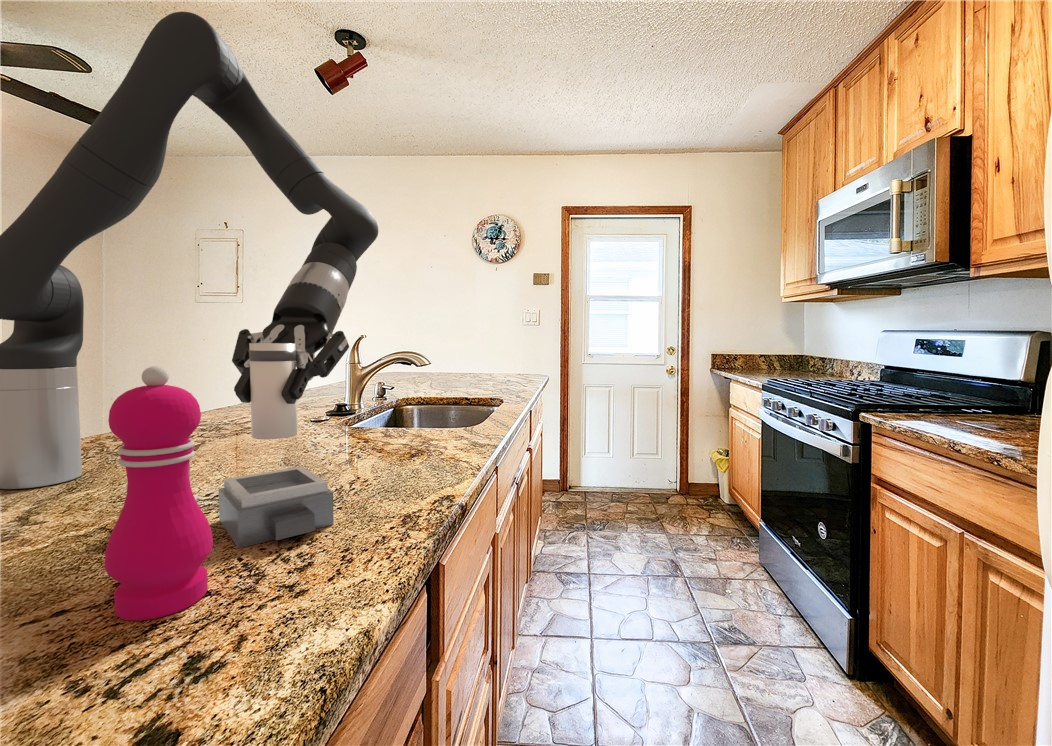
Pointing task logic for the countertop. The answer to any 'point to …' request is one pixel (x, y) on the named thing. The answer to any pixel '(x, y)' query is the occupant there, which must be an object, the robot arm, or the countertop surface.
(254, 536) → the block
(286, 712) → the countertop surface
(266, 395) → the white banded cylinder
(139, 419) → the pepper mill
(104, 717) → the countertop surface
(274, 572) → the countertop surface
